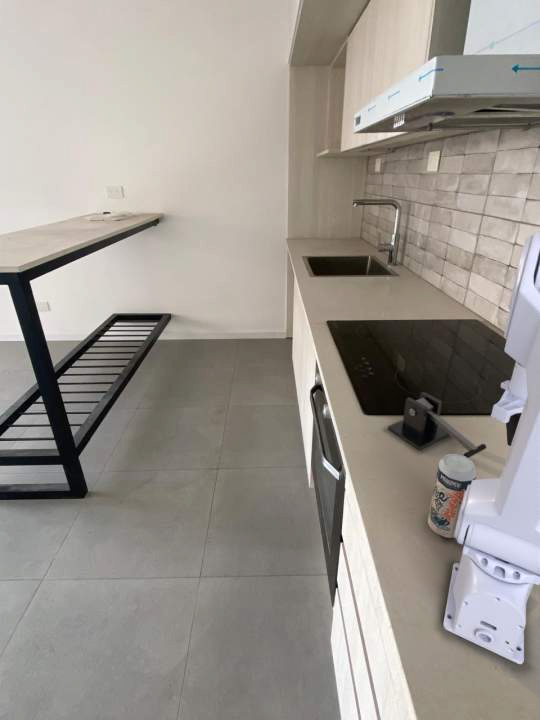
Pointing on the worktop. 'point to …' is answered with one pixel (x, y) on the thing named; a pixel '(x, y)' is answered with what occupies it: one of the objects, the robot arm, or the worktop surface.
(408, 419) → the bracket
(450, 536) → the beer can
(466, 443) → the lever
